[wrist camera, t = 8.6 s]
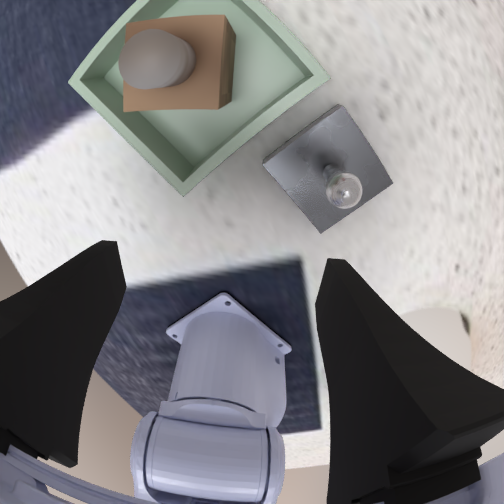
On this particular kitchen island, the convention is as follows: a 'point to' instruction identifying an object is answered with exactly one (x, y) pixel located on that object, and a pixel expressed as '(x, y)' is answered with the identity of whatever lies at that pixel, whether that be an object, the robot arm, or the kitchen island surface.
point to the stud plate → (328, 169)
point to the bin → (203, 120)
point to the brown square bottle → (178, 63)
